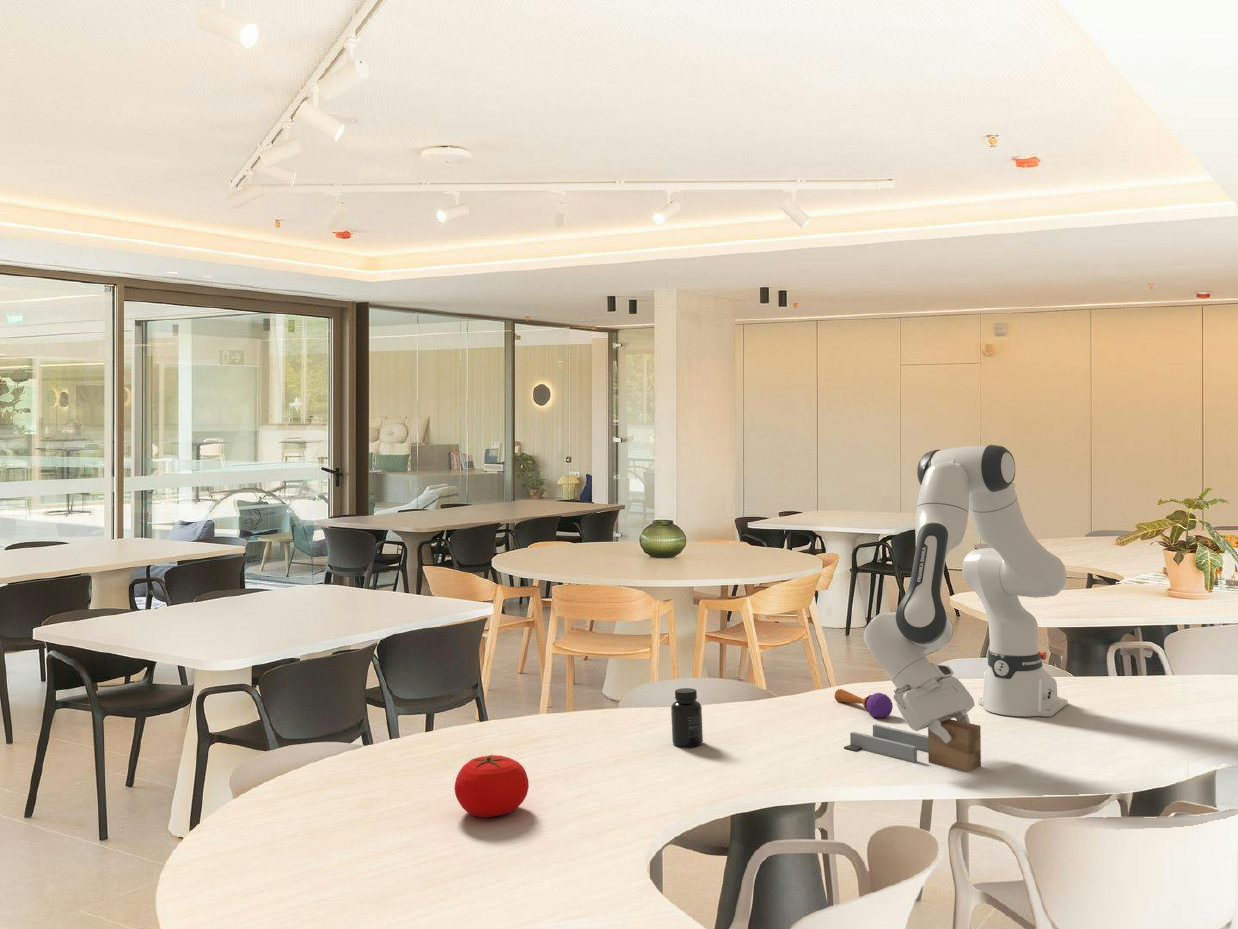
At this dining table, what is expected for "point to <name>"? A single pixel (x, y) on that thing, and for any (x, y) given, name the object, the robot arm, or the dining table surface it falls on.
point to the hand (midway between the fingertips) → (960, 737)
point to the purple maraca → (868, 702)
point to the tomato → (491, 786)
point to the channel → (889, 742)
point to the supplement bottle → (686, 719)
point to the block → (956, 746)
